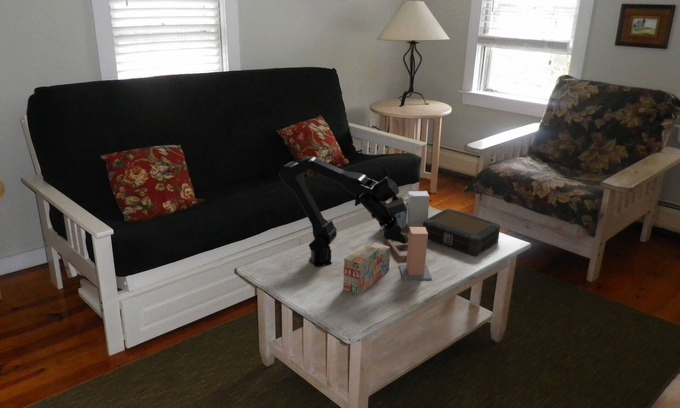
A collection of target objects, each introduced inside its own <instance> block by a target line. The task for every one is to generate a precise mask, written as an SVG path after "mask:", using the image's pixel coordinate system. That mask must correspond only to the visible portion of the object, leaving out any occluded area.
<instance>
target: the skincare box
mask: <svg viewBox="0 0 680 408" xmlns="http://www.w3.org/2000/svg"><path fill="white" fill-rule="evenodd" d="M407 202H408V209H407V221H406V226H407V228H408V229H409V227H423V222H424V220H426V219H428V218H429V207H430V204H429V203H430V195H429V193H428V190H417V191H416V190H415V191H414V190H413V191H410V190H409V191H408V192H407Z"/></svg>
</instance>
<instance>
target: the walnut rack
mask: <svg viewBox="0 0 680 408" xmlns="http://www.w3.org/2000/svg"><path fill="white" fill-rule="evenodd" d="M401 233H402V235H403V236H404V238H405V239H406V241H407V243H405V244H403V243H394V242H393V240H391V239H390V240H387V239H386V238H385V237H384V236H383V235H382V236H383V238H382V239H383V241H384V242H385V244H386V246H389V247H390V252H392V253H393V254H394V256H395V258H396V259H397V260H398V261H399V262H401V261H402V262H403V261H407V253H403V254H402V253H401V252H400V250H408V238H409V233H408V232H401Z"/></svg>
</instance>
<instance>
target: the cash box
mask: <svg viewBox="0 0 680 408" xmlns="http://www.w3.org/2000/svg"><path fill="white" fill-rule="evenodd" d="M423 227H425V228H426V230H427V233H428V239H427V241H430V242H433V243H434V244H435V243H436V244H438V245H441V246H444V247H446V248H449V249H453V250H455V251H458V252H461V253H463V254H466V255H469V256H472V257H477V256H479V255H481V254H482V253H484V252H486V251H487V250H488V249H490V248H491V247H493V246H495V245H496V244H498V242H499V238H500V237H499V236H500V232H501V225H500V224H499V223H496V222H494V221H490V220H486V219H484V218H480V217H477V216H474V215H471V214H468V213H465V212H462V211H457V210H455V209H451V208H445V209H443V210H441V211H440V212H438V213H436V214H433V215H432V216H430V217H428V219H426V220H424V222H423Z"/></svg>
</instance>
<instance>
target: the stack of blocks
mask: <svg viewBox="0 0 680 408" xmlns="http://www.w3.org/2000/svg"><path fill="white" fill-rule="evenodd" d="M343 258H344V259H343V260H344V261H343V284H342V285H343V286H342V289H343V291H344V292H345V291H346V292H349V293H351V294H354V295H356V296H360V295H361V294H362V293H364V292H365V291H366V290H367V289H369V288H370V287H371V286H373V284H374V283H375V282H376V281H377V280H379V279H380V278H382V276H384V275H385V274H386V273H388V271H390V261H391V249H390V247H389V246H388V245H384V244H382V243H377V242H373V244H371V245H370V246H369V245H366V244H361V245H360V246H359V247H358V248H356V249H355V250H354V251H352V252H351V253H349V254H348V255H346V256H345V257H343Z"/></svg>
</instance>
